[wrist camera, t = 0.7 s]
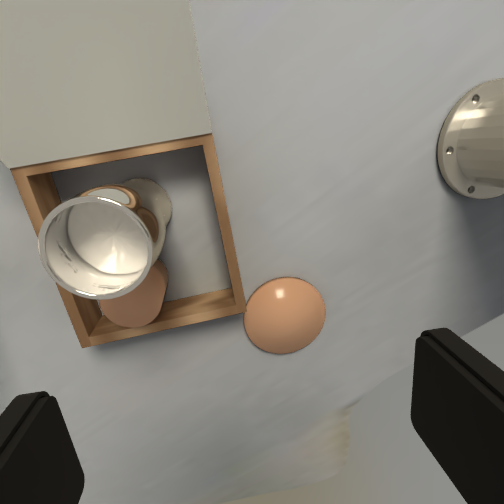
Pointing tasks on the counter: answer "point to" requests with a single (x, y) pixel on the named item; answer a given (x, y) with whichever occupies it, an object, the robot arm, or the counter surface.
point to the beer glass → (105, 238)
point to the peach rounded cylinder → (139, 300)
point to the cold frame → (172, 312)
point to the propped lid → (96, 77)
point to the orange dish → (284, 315)
